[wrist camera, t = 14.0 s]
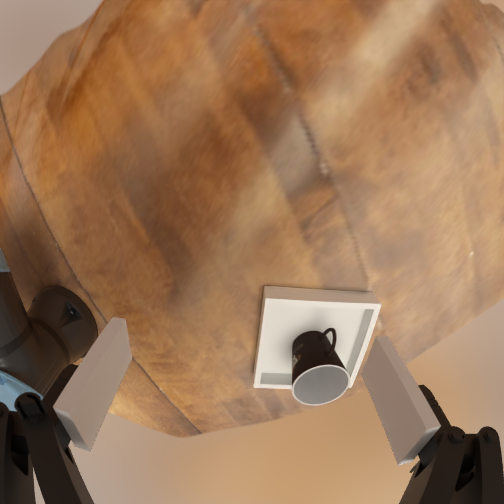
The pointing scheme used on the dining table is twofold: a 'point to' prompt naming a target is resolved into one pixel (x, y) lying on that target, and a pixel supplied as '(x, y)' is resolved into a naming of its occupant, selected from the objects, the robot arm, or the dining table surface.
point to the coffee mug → (317, 369)
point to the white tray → (311, 329)
